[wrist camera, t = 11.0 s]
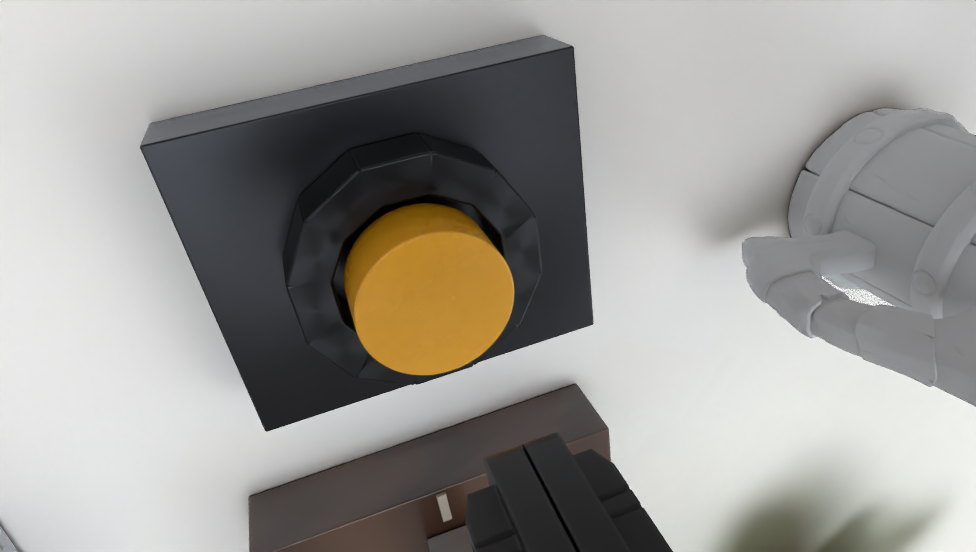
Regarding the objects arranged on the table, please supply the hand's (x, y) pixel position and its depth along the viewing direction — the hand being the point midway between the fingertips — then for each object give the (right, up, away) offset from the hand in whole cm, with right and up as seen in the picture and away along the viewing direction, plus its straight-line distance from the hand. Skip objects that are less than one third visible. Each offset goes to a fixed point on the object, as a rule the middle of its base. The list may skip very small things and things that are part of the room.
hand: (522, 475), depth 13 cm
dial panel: (-3, -7, +17) cm, 18 cm away
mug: (+13, +7, +15) cm, 21 cm away
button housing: (-4, +6, +9) cm, 12 cm away
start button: (-3, +4, +6) cm, 8 cm away
